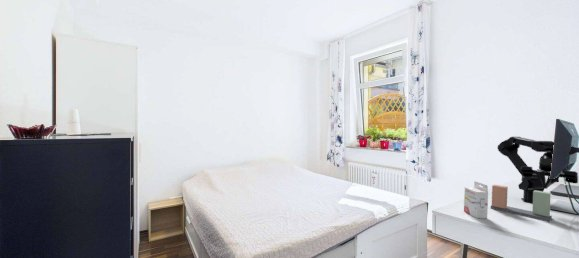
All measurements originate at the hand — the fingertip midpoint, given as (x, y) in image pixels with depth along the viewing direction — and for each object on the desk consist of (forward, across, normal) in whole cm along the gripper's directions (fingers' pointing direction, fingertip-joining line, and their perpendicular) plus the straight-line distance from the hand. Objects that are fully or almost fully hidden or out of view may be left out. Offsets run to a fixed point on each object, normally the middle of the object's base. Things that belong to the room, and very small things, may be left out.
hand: (544, 188), depth 114 cm
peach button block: (+15, -14, 0) cm, 21 cm away
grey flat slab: (+15, -7, +2) cm, 17 cm away
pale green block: (+13, 0, +2) cm, 13 cm away
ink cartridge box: (+30, -18, -13) cm, 37 cm away
